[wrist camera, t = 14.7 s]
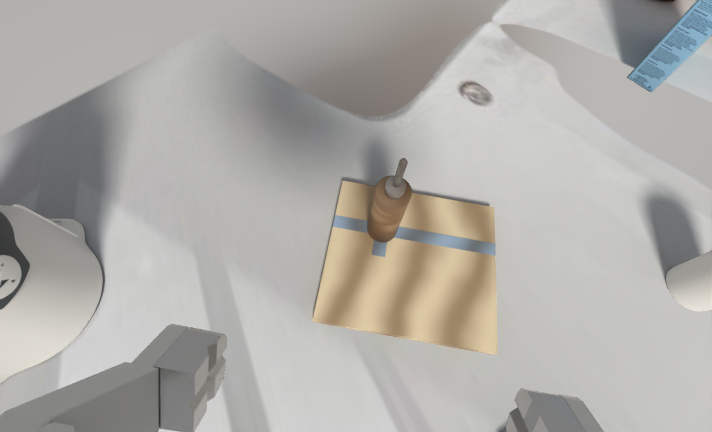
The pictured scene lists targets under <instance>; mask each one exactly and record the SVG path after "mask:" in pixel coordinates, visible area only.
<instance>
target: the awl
mask: <svg viewBox="0 0 712 432" xmlns="http://www.w3.org/2000/svg"><path fill="white" fill-rule="evenodd" d="M406 166H407V160H406V159H405V158H402V159H401V160H400V161H399V165H398V168H397V171H396V174H395V176H387V177H384V178H383V179H381V180H380V181H379V182H378V184H377V187H376V191H375V196H374V200H373V204H372V208H371V213H370V217H369V221H368V226H367V231H368V234H369V236H370V237H371V238H372V239H373V240H375V241H377V242H382V243H384V242H388V241H390V240H392V239H393V238H394V237H395V235H396V232H397V230H398V227H399V225H400V223H401V220H402V218H403V216H404V213H405V211H406V208H407V206H408V204H409V201H410V199H411V196H412V189H411V186H410V185H409V183H408V182H407V181H406V180H405V179H403V178H402V177H403V174H404V171H405V168H406Z"/></svg>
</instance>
